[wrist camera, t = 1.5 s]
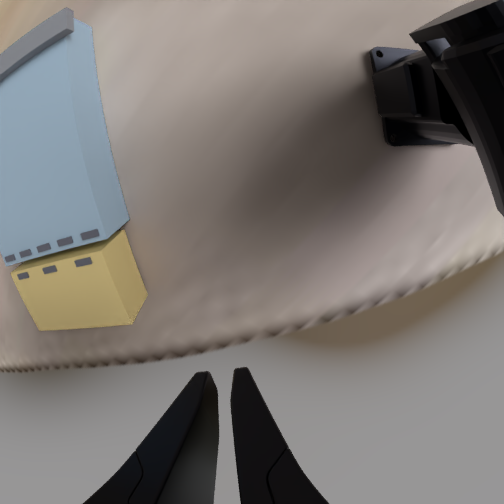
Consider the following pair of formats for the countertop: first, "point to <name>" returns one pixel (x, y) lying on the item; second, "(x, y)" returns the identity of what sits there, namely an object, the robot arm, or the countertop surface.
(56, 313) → the stub
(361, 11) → the countertop surface
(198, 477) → the robot arm
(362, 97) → the countertop surface
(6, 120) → the ticket
